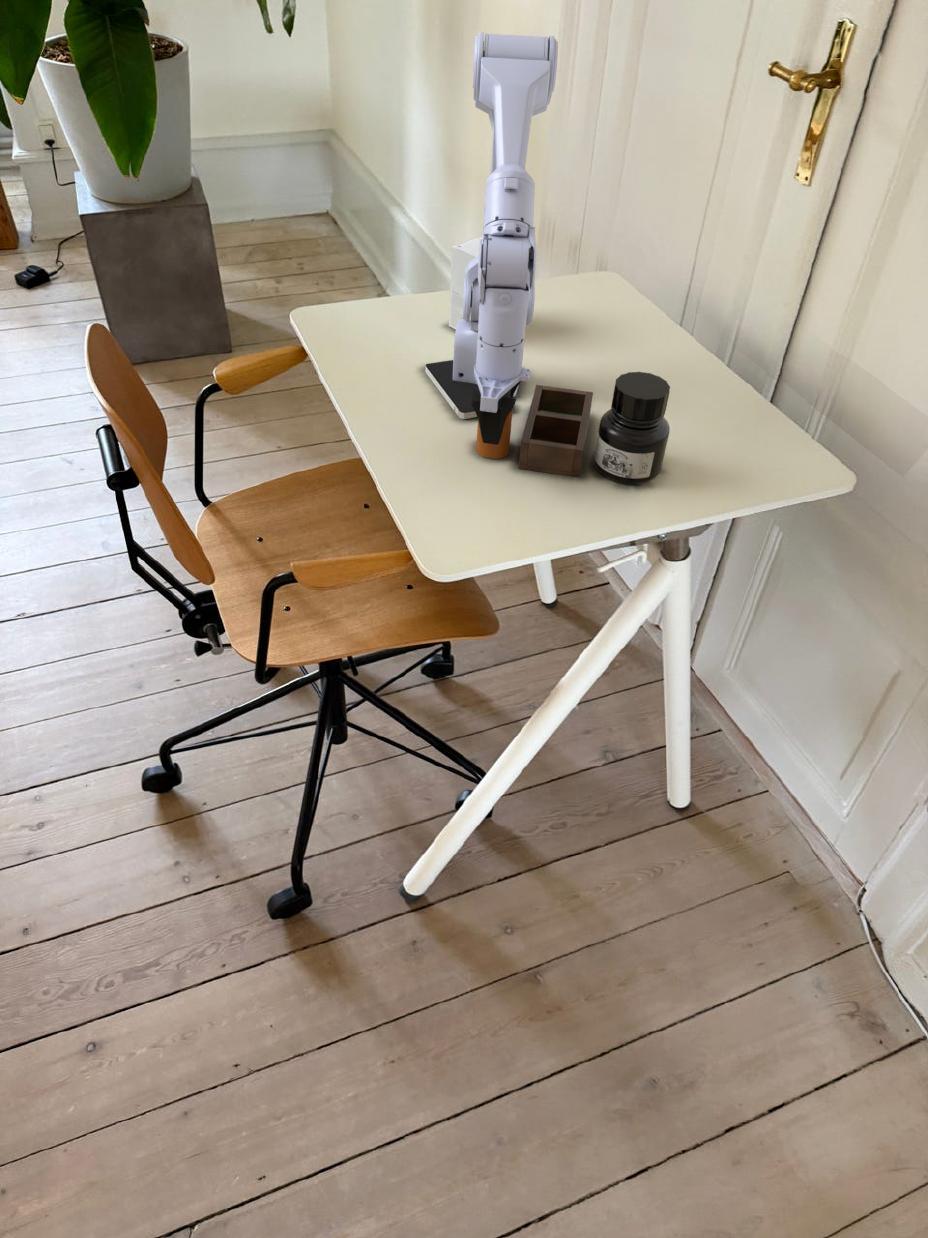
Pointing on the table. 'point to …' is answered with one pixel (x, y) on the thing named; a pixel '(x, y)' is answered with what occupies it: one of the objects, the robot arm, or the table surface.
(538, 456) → the holder
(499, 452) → the spice bottle
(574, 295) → the table surface
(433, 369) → the smartphone
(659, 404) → the ink bottle
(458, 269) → the small box
